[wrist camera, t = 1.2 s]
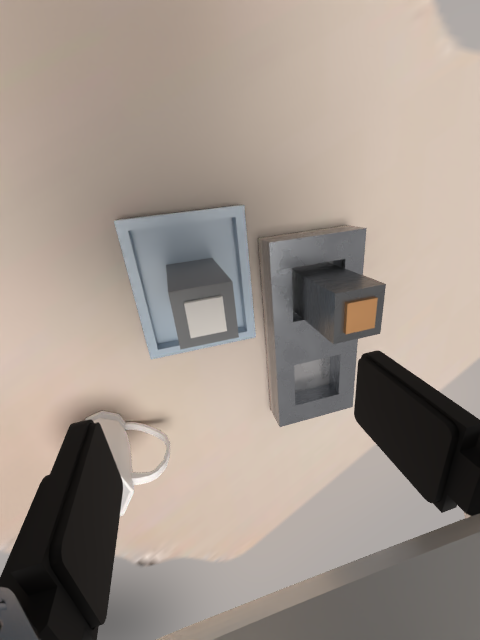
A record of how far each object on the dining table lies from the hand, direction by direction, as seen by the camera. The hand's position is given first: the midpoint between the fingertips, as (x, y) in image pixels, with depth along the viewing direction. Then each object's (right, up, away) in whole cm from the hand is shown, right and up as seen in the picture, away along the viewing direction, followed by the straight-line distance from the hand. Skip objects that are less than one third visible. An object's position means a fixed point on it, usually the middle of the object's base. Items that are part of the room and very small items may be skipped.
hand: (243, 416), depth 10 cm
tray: (-4, +7, +16) cm, 18 cm away
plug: (-4, +7, +15) cm, 17 cm away
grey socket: (+7, +3, +21) cm, 22 cm away
